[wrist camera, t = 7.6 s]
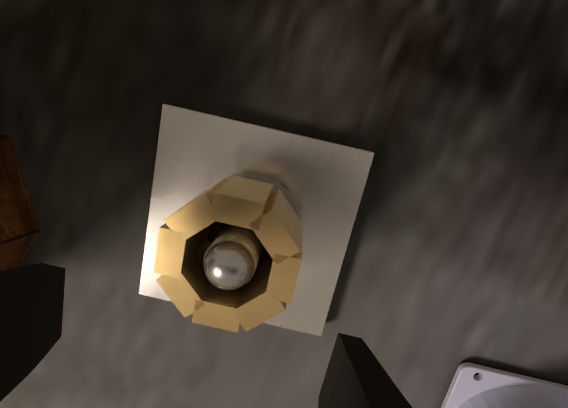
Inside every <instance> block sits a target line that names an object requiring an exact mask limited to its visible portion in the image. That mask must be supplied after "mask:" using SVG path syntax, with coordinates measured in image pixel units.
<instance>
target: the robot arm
mask: <svg viewBox="0 0 568 408" xmlns="http://www.w3.org/2000/svg"><path fill="white" fill-rule="evenodd" d="M64 283H65V268H61V267H57V266H52V265H48V264H44V263H40V264H34V265H28V266H23V267H18V268H13V269H8V270H4V271H0V401H1V400H2V399H4V398H5V397H6V396H7V395H8V394H9V393H10V392H11V391H12V390H13V389H14V388H15V387H16V386H17V385H18V384H19V383H20V382H21V381H22V380H23V379H24V378H25V377H26V376H27V375H28V374H29V373H31V371H32V370H33V369H34V368H35V367H36V366H37V365H38V363H39V362H40V361H41V360H42V359H43V358H44V357H45V355H46V354H47V353H48V352H49V350H50V349H51V348H52V347H53V346H54V344H55V343H56V342H57V341H58V339H59V338H60V337H61V331H62V315H63V299H64ZM476 373H479V374H478V375H476V376H475V375H474V374H476ZM318 408H412V407H411V405H410V404H409V403H408V401H407V400H406V399H405V397H404V396H403V395H402V393H401V392H400V391H399V389H398V388H397V387H396V385H395V384H394V382H393V381H392V380H391V378H390V377H389V376H388V374H387V373H386V371H385V370H384V369H383V367H382V366H381V364H380V363H379V362H378V360H377V359H376V357H375V356H374V355H373V353H372V352H371V350H370V349H369V348H368V346H367V345H366V343H365V342H364V341H363V340H362V338H358V337H353V336H349V335H345V334H341V333H338V336H337V339H336V342H335V345H334V349H333V352H332V355H331V359H330V362H329V365H328V368H327V372H326V375H325V378H324V381H323V385H322V388H321V391H320V394H319V402H318ZM441 408H568V386H567V385H562V384H558V383H554V382H550V381H545V380H541V379H537V378H532V377H528V376H524V375H520V374H515V373H511V372H507V371H503V370H498V369H494V368H490V367H485V366H481V365H477V364H473V363H463V364H461V365H459V367H458V368H457V371H456V373H455V376H454V378H453V380H452V383H451V385H450V387H449V390H448V392H447V394H446V397H445V399H444V401H443V404H442V406H441Z"/></svg>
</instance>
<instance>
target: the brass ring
mask: <svg viewBox="0 0 568 408" xmlns="http://www.w3.org/2000/svg"><path fill="white" fill-rule="evenodd" d="M273 186H274V184H270V183H265V182H261V181H256V180H252V179H247V178H243V177H238V176H233V177H232V178H231V179H228V178H227V177H226V178H224V179H223V180H221V181H220V182H218V183H217V184H215V185H214V186H212V187H211V188H209V189H208V190H206V191H204V192H203V193H201V194H200V195H198V196H197V197H195V198H194V199H192V200H191V201H190V202H188V203H187V204H186V205H184V206H183V207H182V208H180V209H179V210H177V211H176V212H175V213H173V214H172V215H171V216H169V217H168V218H166V219H165V220H164V221H165V224H163V225H162V226H161V227H159V234H158V242H157V250H156V258H155V266H154V273H157V274H162V275H161V276H160V277H159V278H158V279H157V280H156V281H157V283H158V284H159V285H160V286H161V288H162V289H163V290H164V292H165V293H166V294H167V295H168V297H169V298H170V299H171V301H172V302H173V303H174V304H175V306H176V307H177V308H178V310H179V311H180V312H181V313H182V315H183V316H184V317H187V316H188V315H190V314H192V313H193V319H192V322H193V323H198V324H202V325H207V326H211V327H216V328H220V329H224V330H229V331H233V332H238V331H239V328H240V324H241V325H242V326H243V328H244V329H245V331H248V330H250V329H252V328H254V327H256V326H257V325H259V324H261V323H263V322H265V321H267V320H268V319H270V318H272V317H274V316H276V315H278V314H280V313H281V312H283V311H285V310H286V305H287V303H290V304H291V302H292V298H293V294H294V290H295V286H296V282H297V277H298V273H299V269H300V265H301V261H302V235H303V228H301V220H300V219H299V217H298V216H297V214H296V213H295V211H294V209H293V208H292V206H291V205H290V203H289V202H288V200H287V199H286V197H285V196H284V194H283V193H282V191H281V190H280V189H278V190H277V191H275V192H274V193H272V191H273ZM215 221H217V222H221V223H226V224H230V225H235V226H239V227H244V228H248V229H252V230H253V231H254V232H255V234H256V235H257V237H258V238H259V240H260V241H261V243H262V244H263V246H264V247H265V248H266V250H267V251H268V253H269V254H270V256H271V257H269V258H268V259H266V260H264V261H263V262H261V263H259V264H257V267H256V270H255V273H254V275H253V277H252V278H251V280H250V281H249V282H248V283H246V284H245V285H243V286H242V287H240V288H237V289H233V290H223V289H220V288H217V287H216V286H214V285H213V284H212V283H211V282H210V281H209V280H208V278H207V277H206V274H205V272H204V263H203V261H204V255H205V253H206V251H207V249H208V248H209V246H210V245H211V244H210V243H209V241H208V240H207V239H208V233H209V227H210V224H212V223H213V222H215Z"/></svg>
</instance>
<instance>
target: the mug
mask: <svg viewBox="0 0 568 408" xmlns="http://www.w3.org/2000/svg"><path fill="white" fill-rule="evenodd" d="M39 231H40V229H39V226H38V223H37V220H36V217H35V214H34V211H33V208H32V205H31V202H30V199H29V196H28V193H27V190H26V187H25V184H24V181H23V178H22V175H21V172H20V169H19V166H18V163H17V160H16V157H15V154H14V151H13V148H12V145H11V142H10V139H9V136H8V135H6V134H5V133H3V132H2V131H0V271H4V270H8V269H13V268H18V267H19V266H20V264H21V263H22V261H23V259H24V257H25V256H26V254H27V252H28V250H29V249H30V247H31V245H32V243H33V242H34V240H35V238H36V237H37V235H38V233H39Z"/></svg>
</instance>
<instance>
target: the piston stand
mask: <svg viewBox="0 0 568 408" xmlns="http://www.w3.org/2000/svg"><path fill="white" fill-rule="evenodd" d="M373 157H374V152H372V151H369V150H365V149H360V148H356V147H352V146H348V145H343V144H339V143H335V142H330V141H326V140H322V139H317V138H313V137H309V136H304V135H300V134H296V133H291V132H287V131H283V130H279V129H274V128H270V127H266V126H261V125H257V124H253V123H248V122H244V121H240V120H235V119H231V118H227V117H223V116H218V115H214V114H210V113H205V112H201V111H197V110H192V109H188V108H184V107H179V106H175V105H170V104H163V106H162V114H161V122H160V130H159V138H158V146H157V154H156V162H155V170H154V178H153V186H152V194H151V202H150V210H149V218H148V226H147V234H146V242H145V250H144V258H143V266H142V274H141V282H140V290H139V294H142V295H146V296H151V297H155V298H159V299H163V300H168V301H171V299H170V298H169V297H168V295H167V294H166V293H165V292H164V290H163V289H162V288H161V286H160V285H159V284H158V283H157V281H156V280H157V279H158V278H159V277H160V276H161V275H162V274H157V273H154V266H155V258H156V250H157V242H158V234H159V227H161V226H162V225H163V224H165V221H164V220H165V219H166V218H168V217H169V216H171V215H172V214H173V213H175V212H176V211H177V210H179V209H180V208H182V207H183V206H184V205H186V204H187V203H188V202H190V201H191V200H192V199H194V198H195V197H197V196H198V195H200V194H201V193H203V192H204V191H206V190H208V189H209V188H211V187H212V186H214V185H215V184H217V183H218V182H220V181H221V180H223V179H224V178H226V177H227V178H228V179H231V178H232V177H233V176H238V177H243V178H247V179H252V180H256V181H261V182H265V183H270V184H274V186H273V191H272V193H274V192H275V191H277V190H278V189H280V190H281V191H282V193H283V194H284V196H285V197H286V199H287V200H288V202H289V203H290V205H291V206H292V208H293V209H294V211H295V213H296V214H297V216H298V217H299V219H300V220H301V228H303V235H302V261H301V265H300V269H299V273H298V277H297V282H296V286H295V290H294V294H293V298H292V302H291V304H290V303H287V305H286V310H285V311H283V312H281V313H280V314H278V315H276V316H274V317H272V318H270V319H268V320H267V321H265V322H263V323H266V324H270V325H275V326H279V327H283V328H287V329H292V330H296V331H300V332H304V333H309V334H313V335H317V336H321V335H322V331H323V328H324V324H325V321H326V317H327V314H328V311H329V307H330V304H331V300H332V297H333V293H334V290H335V287H336V283H337V280H338V276H339V273H340V270H341V266H342V263H343V259H344V256H345V252H346V249H347V246H348V242H349V239H350V235H351V232H352V228H353V225H354V222H355V218H356V215H357V211H358V208H359V204H360V201H361V198H362V194H363V191H364V187H365V184H366V181H367V177H368V174H369V170H370V167H371V163H372V160H373ZM207 240H208V241H209V243H210V244H211V245H210V246H209V248H208V249H207V251H206V253H205V255H204V261H203V263H204V272H205V274H206V277H207V278H208V280H209V281H210V282H211V283H212V284H213V285H214V286H216V287H217V288H220V289H223V290H233V289H237V288H240V287H242V286H243V285H245V284H246V283H248V282H249V281H250V280H251V278H252V277H253V275H254V273H255V270H256V267H257V264H259V263H261V262H263V261H264V260H266V259H268V258H269V257H271V256H270V254H269V253H268V251H267V250H266V248H265V247H264V246H263V244H262V243H261V241H260V240H259V238H258V237H257V235H256V234H255V232H254V231H253V230H252V229H248V228H244V227H239V226H235V225H230V224H226V223H221V222H217V221H215V222H213V223H212V224H210V227H209V233H208V239H207Z"/></svg>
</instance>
